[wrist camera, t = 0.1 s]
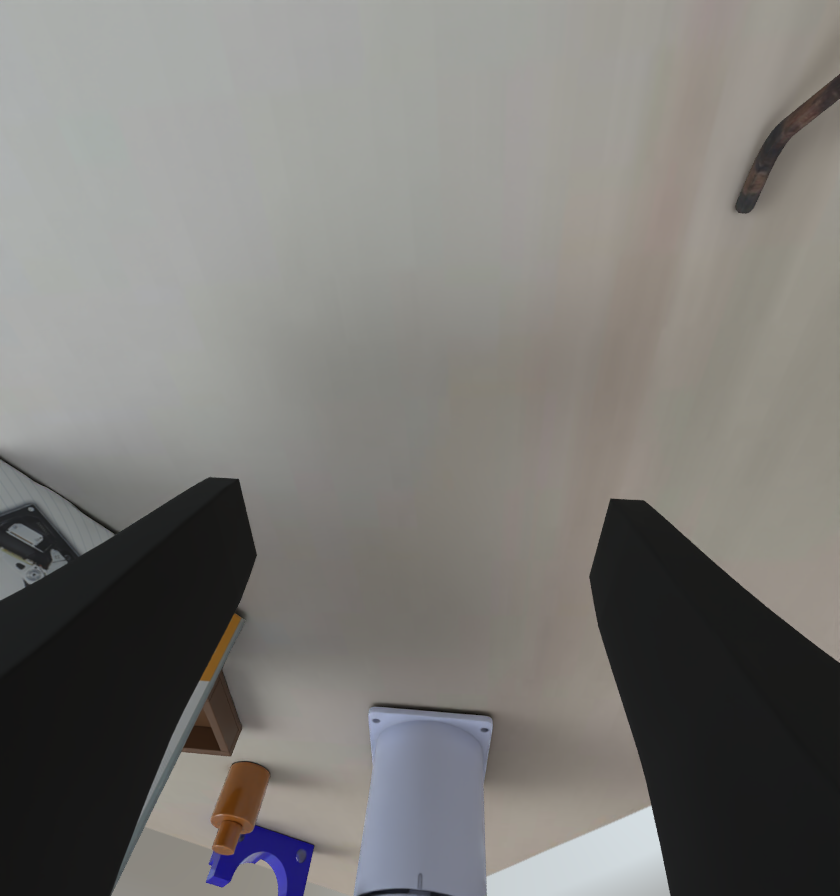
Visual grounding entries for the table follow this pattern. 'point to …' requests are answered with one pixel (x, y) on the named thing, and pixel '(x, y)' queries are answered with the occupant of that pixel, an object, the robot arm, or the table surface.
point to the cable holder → (274, 852)
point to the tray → (215, 724)
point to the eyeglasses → (784, 142)
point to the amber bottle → (238, 805)
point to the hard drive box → (59, 542)
